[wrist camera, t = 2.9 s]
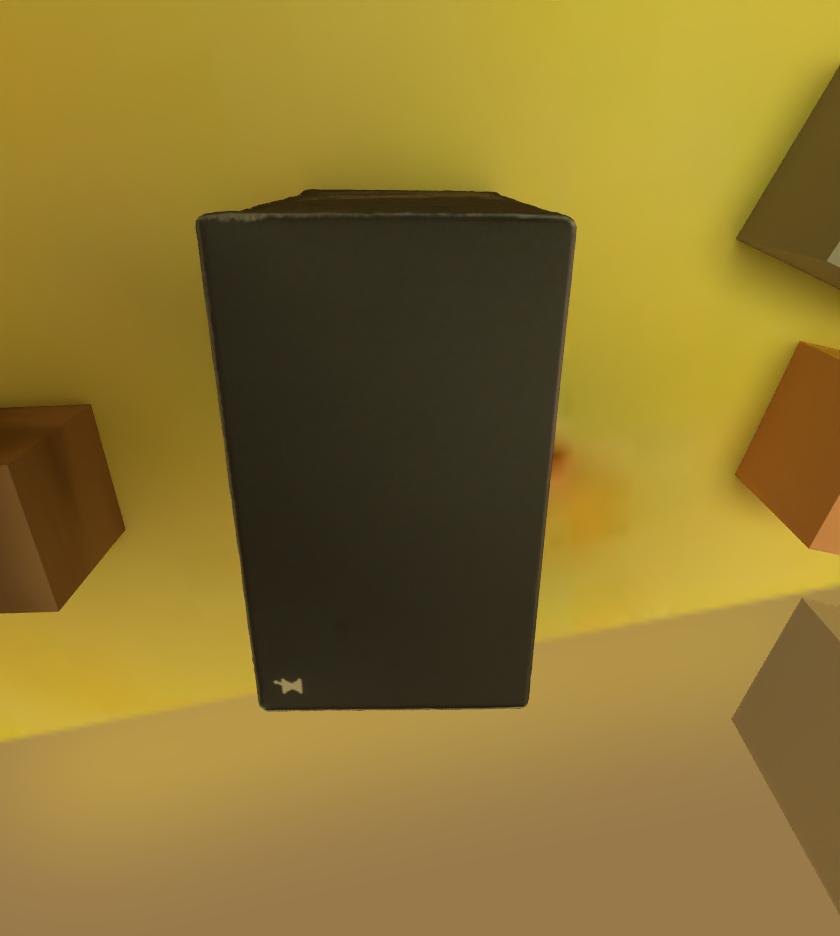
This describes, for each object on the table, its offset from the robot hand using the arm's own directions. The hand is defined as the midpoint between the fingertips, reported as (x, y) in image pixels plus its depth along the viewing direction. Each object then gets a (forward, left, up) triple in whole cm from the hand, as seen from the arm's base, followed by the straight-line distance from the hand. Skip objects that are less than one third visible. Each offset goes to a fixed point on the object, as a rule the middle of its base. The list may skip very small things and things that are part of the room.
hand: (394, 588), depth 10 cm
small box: (0, 0, -13) cm, 13 cm away
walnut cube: (-12, -7, -12) cm, 19 cm away
